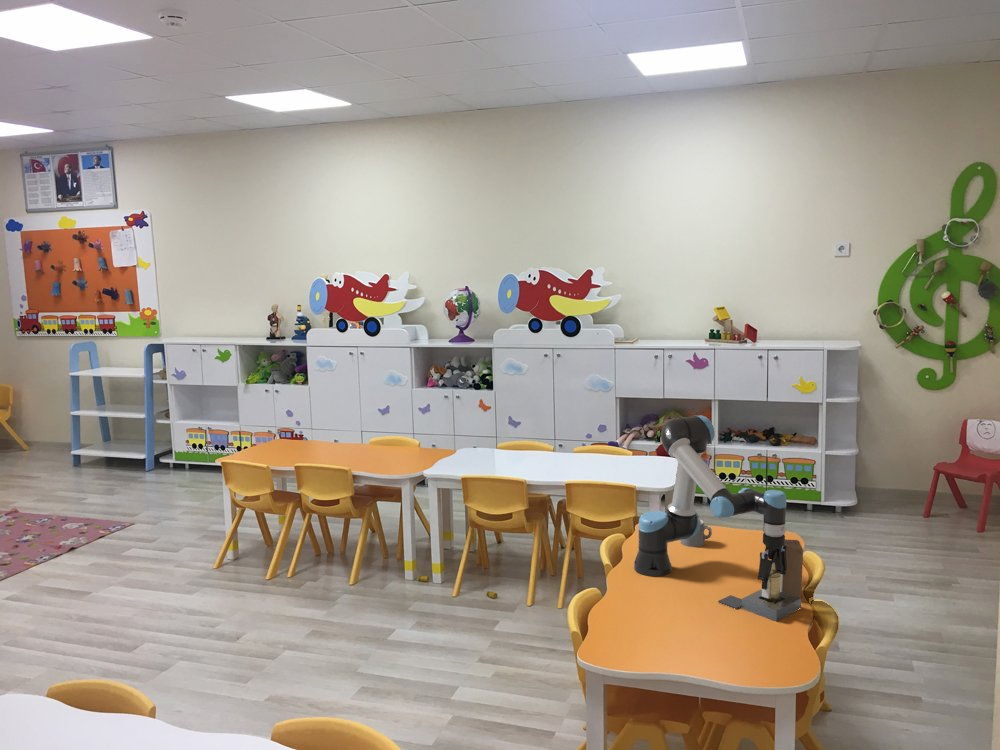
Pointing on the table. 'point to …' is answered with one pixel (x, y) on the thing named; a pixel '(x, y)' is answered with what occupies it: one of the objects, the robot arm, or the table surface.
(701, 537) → the coffee mug
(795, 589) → the wooden block
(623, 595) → the table surface
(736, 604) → the pad
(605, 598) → the table surface
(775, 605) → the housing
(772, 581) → the brass cylinder
